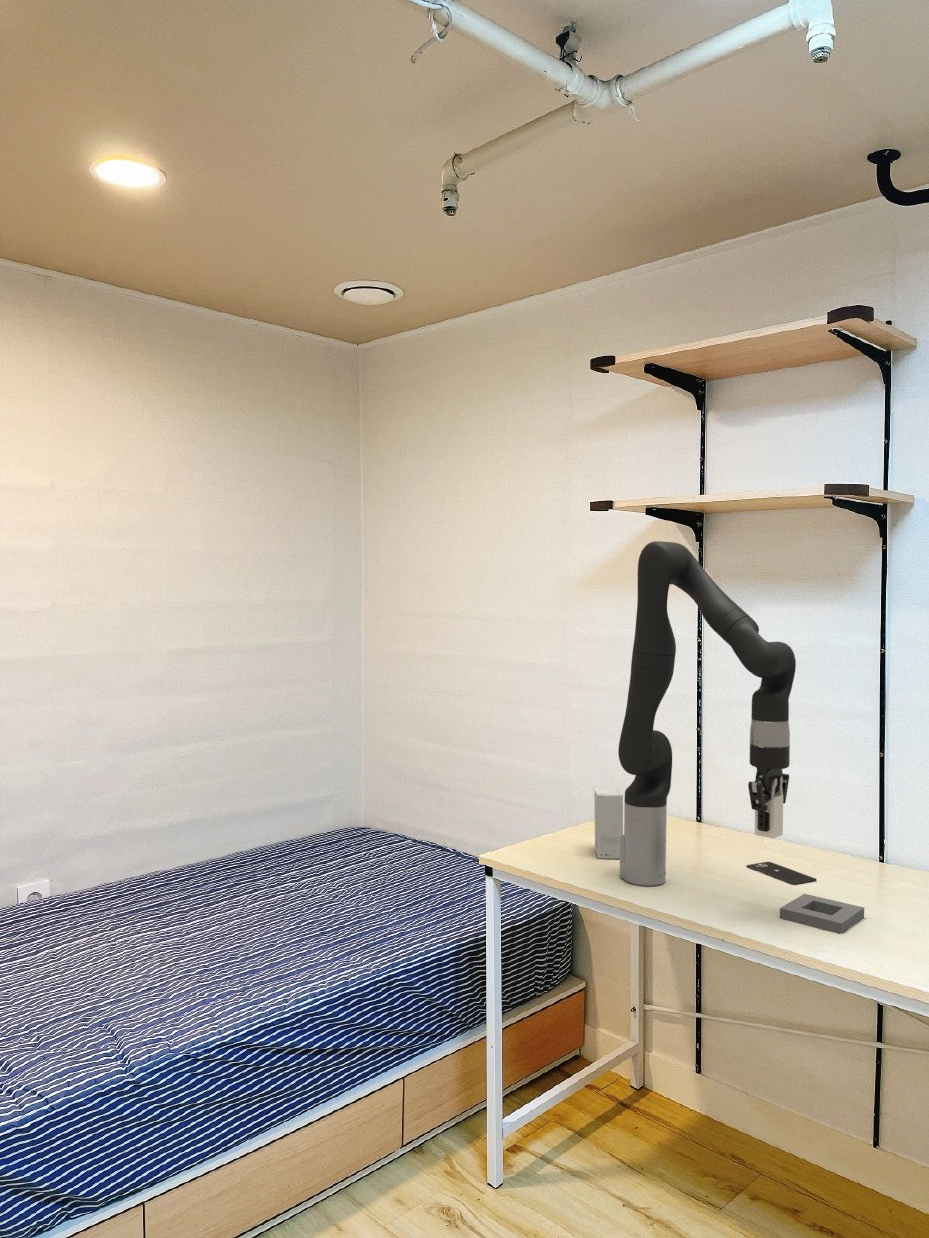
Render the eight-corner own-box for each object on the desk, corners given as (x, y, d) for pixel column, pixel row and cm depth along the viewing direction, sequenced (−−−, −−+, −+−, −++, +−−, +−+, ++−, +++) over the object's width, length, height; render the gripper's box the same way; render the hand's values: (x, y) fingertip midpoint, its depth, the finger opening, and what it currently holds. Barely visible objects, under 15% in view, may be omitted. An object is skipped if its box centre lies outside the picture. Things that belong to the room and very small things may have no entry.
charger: (754, 834, 180) (755, 793, 180) (763, 830, 183) (764, 790, 183) (773, 838, 177) (774, 796, 177) (782, 834, 180) (783, 793, 180)
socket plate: (779, 917, 179) (779, 907, 179) (804, 903, 188) (804, 893, 188) (841, 933, 171) (841, 923, 171) (864, 917, 180) (864, 907, 180)
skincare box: (623, 859, 217) (624, 795, 217) (595, 859, 218) (596, 794, 217) (619, 850, 226) (620, 787, 225) (593, 849, 226) (593, 787, 226)
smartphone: (768, 864, 216) (769, 860, 216) (818, 882, 203) (818, 879, 202) (744, 868, 213) (744, 864, 213) (793, 887, 199) (793, 883, 199)
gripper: (767, 736, 187) (766, 819, 188) (735, 744, 177) (734, 831, 177) (803, 740, 182) (802, 825, 183) (772, 748, 172) (771, 838, 172)
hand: (768, 828), depth 180 cm, fingers closed on charger, 4 cm apart
